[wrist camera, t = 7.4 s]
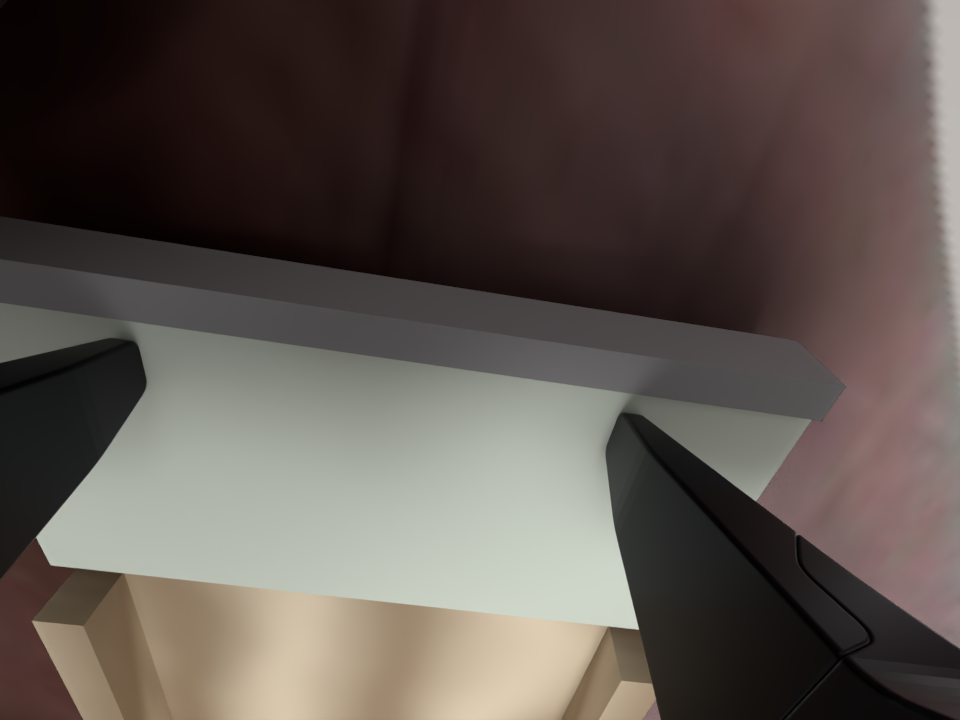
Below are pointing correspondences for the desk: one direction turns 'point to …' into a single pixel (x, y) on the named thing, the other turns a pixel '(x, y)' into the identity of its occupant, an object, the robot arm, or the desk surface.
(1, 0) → the portable speaker
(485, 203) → the desk surface
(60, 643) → the tray
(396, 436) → the panel
